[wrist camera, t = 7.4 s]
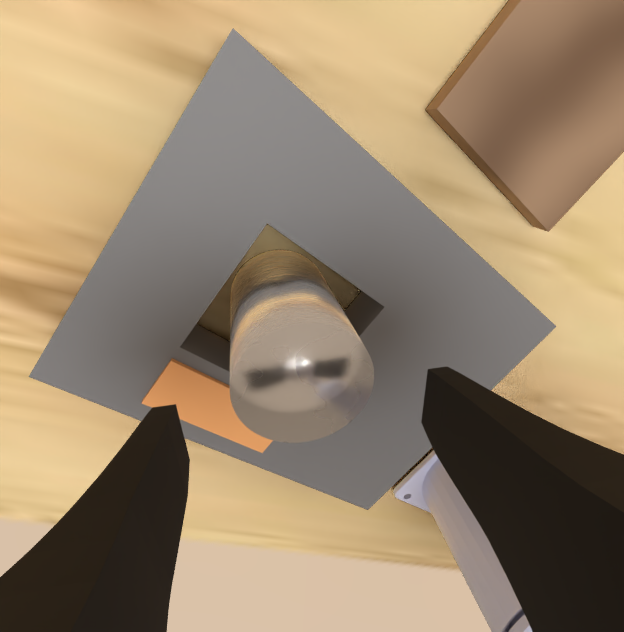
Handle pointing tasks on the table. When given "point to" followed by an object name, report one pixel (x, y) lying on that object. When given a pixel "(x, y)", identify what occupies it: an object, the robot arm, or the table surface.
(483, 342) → the hole plate
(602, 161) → the tab
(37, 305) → the table surface
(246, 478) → the table surface
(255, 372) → the steel peg
